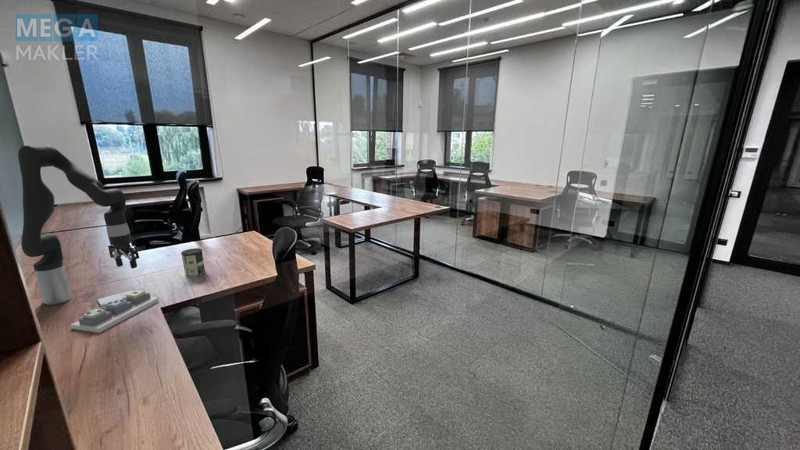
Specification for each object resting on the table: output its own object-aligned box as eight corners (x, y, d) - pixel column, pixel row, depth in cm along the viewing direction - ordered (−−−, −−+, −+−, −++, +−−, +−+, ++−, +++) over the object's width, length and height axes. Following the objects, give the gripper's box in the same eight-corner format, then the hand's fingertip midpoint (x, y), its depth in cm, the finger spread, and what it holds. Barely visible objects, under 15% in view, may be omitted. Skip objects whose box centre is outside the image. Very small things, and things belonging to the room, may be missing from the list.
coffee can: (202, 268, 195) (198, 246, 192) (207, 273, 189) (204, 251, 185) (182, 273, 188) (178, 250, 184) (187, 278, 181) (183, 255, 178)
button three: (106, 309, 141) (105, 303, 141) (118, 303, 146) (117, 298, 145) (116, 310, 141) (114, 304, 140) (127, 304, 145) (126, 299, 145)
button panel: (71, 328, 133) (69, 319, 131) (134, 298, 158) (133, 290, 157) (99, 332, 130) (97, 323, 129) (158, 301, 156) (157, 292, 155)
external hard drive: (97, 302, 155) (130, 293, 164) (101, 307, 150) (134, 298, 159) (97, 299, 155) (129, 290, 164) (100, 304, 150) (133, 295, 159)
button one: (127, 299, 150) (125, 294, 149) (137, 294, 155) (136, 289, 154) (135, 300, 149) (134, 295, 148) (145, 295, 154) (144, 290, 153)
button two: (84, 319, 133) (82, 314, 132) (97, 313, 138) (95, 308, 137) (93, 321, 132) (92, 315, 131) (106, 315, 137) (105, 309, 136)
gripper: (97, 235, 142) (106, 268, 146) (122, 236, 139) (130, 271, 143) (116, 230, 149) (124, 262, 153) (139, 232, 146) (147, 265, 150)
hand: (127, 267), depth 148 cm, fingers open, 8 cm apart
